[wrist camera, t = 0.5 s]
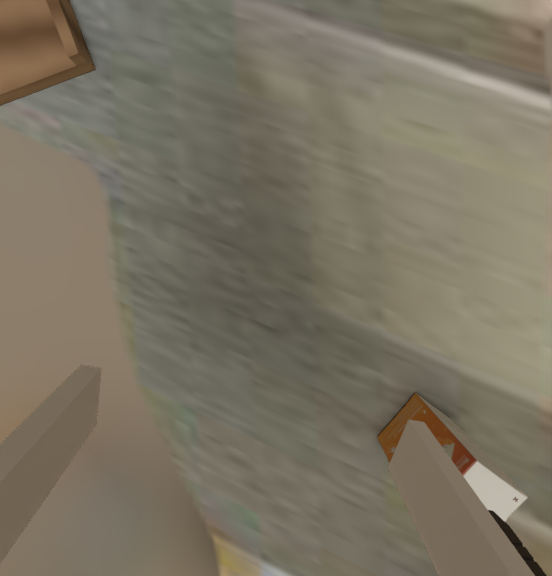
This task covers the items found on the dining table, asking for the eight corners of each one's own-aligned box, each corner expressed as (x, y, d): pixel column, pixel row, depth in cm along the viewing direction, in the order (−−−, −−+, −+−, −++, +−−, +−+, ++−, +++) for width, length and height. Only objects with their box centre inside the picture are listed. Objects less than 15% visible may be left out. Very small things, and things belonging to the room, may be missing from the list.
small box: (414, 390, 40) (478, 459, 27) (451, 418, 41) (531, 498, 28) (374, 437, 41) (418, 524, 28) (411, 463, 42) (471, 561, 29)
